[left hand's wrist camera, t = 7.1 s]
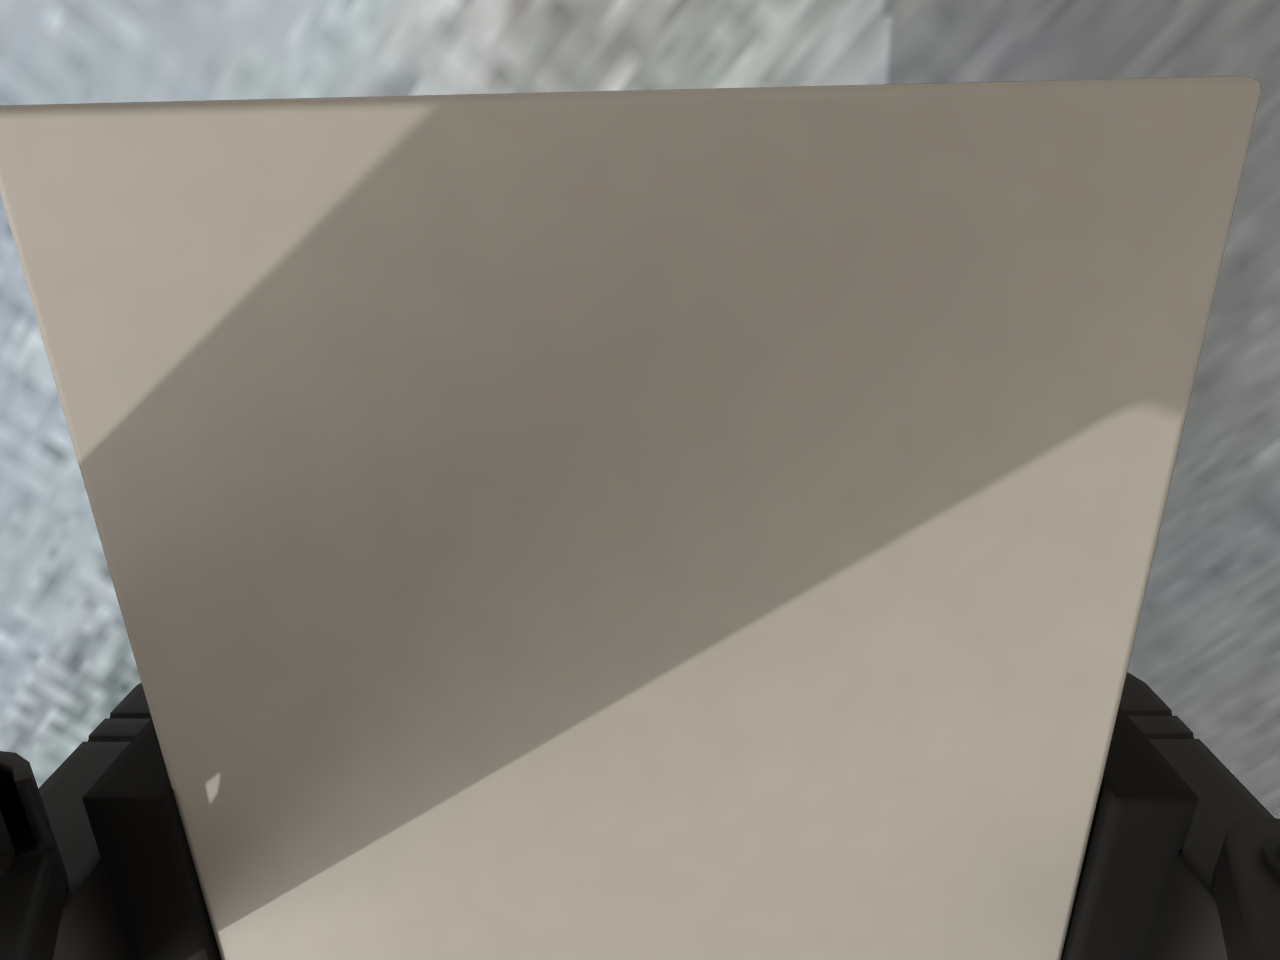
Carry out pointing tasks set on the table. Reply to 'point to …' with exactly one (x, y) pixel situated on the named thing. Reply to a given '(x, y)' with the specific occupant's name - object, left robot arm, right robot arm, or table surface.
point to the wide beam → (632, 495)
